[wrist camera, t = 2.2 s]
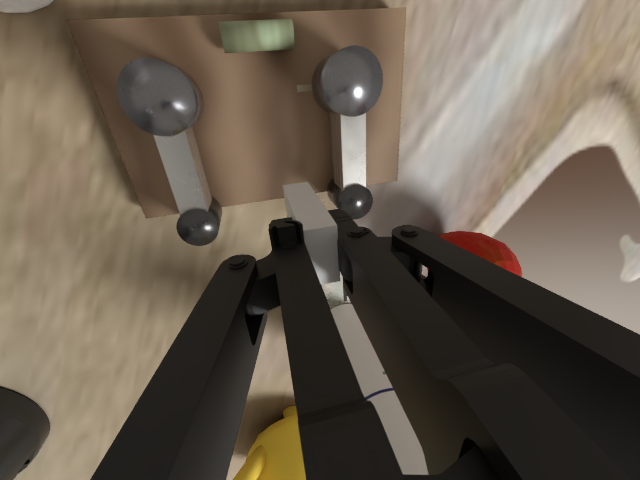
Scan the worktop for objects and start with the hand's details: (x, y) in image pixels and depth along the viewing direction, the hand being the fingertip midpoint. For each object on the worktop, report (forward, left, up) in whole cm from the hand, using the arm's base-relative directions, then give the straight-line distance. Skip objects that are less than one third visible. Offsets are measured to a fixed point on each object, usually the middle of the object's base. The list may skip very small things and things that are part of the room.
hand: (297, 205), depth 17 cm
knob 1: (-7, +2, -9) cm, 12 cm away
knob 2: (+6, +2, -9) cm, 11 cm away
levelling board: (0, +4, -12) cm, 12 cm away
